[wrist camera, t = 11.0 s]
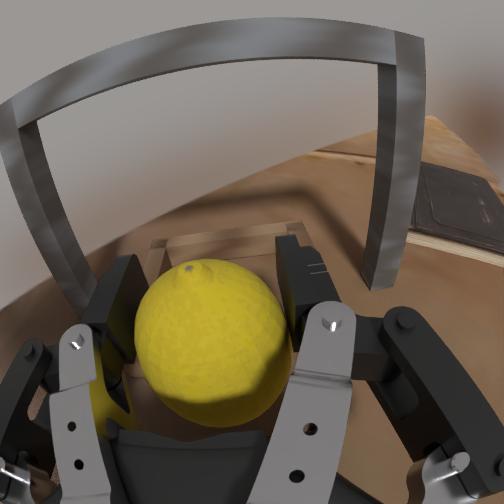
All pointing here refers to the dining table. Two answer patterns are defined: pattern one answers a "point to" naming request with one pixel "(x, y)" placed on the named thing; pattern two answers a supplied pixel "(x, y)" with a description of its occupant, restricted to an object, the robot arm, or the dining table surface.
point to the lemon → (213, 342)
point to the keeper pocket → (212, 53)
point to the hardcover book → (457, 214)
